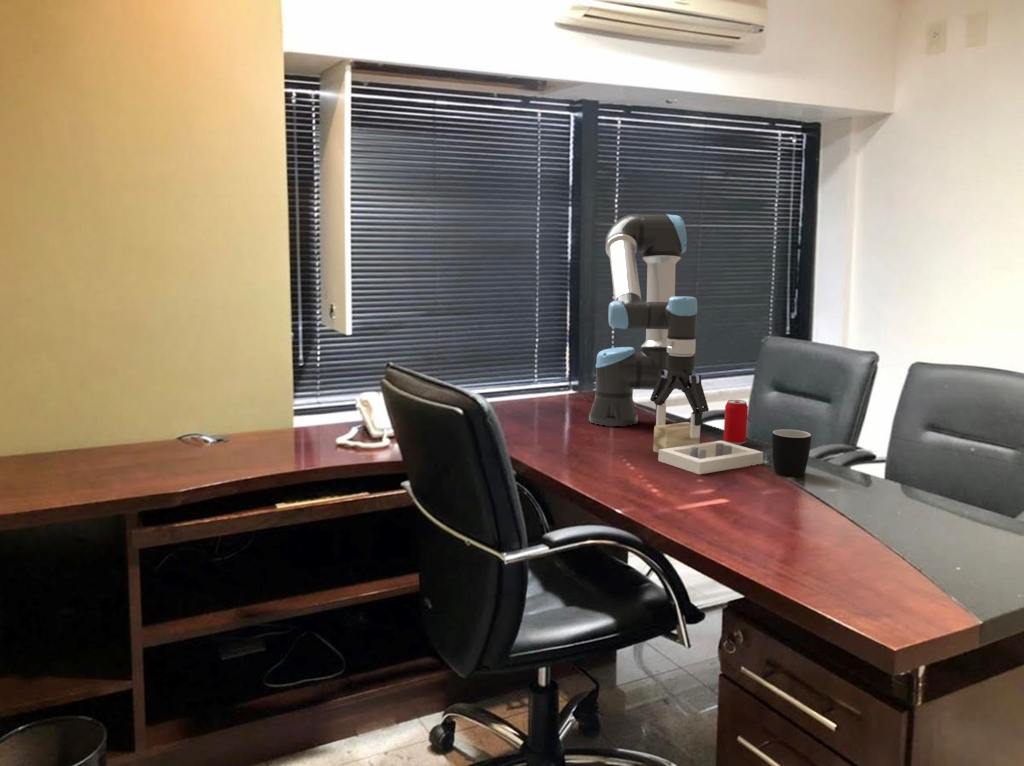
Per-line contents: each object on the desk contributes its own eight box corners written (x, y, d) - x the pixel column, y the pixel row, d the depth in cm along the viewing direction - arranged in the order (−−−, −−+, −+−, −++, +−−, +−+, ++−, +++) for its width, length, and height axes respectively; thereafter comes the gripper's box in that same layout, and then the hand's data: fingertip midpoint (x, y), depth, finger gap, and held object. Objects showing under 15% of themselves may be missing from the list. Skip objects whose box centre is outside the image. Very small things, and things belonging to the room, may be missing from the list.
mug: (815, 477, 206) (818, 436, 204) (780, 479, 204) (783, 437, 203) (791, 465, 217) (794, 426, 216) (758, 466, 216) (760, 427, 214)
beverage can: (744, 440, 244) (746, 399, 242) (747, 445, 238) (750, 403, 236) (721, 440, 245) (724, 398, 243) (724, 445, 239) (727, 402, 237)
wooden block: (653, 451, 230) (654, 426, 229) (686, 446, 237) (687, 422, 236) (665, 455, 226) (666, 429, 225) (699, 450, 232) (700, 425, 231)
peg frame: (658, 460, 220) (658, 445, 219) (720, 451, 231) (721, 436, 230) (699, 474, 207) (699, 458, 206) (762, 463, 218) (763, 448, 218)
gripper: (639, 350, 236) (636, 425, 239) (703, 360, 215) (699, 442, 218) (660, 349, 240) (657, 423, 243) (724, 358, 219) (720, 439, 222)
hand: (677, 432), depth 230 cm, fingers open, 13 cm apart
